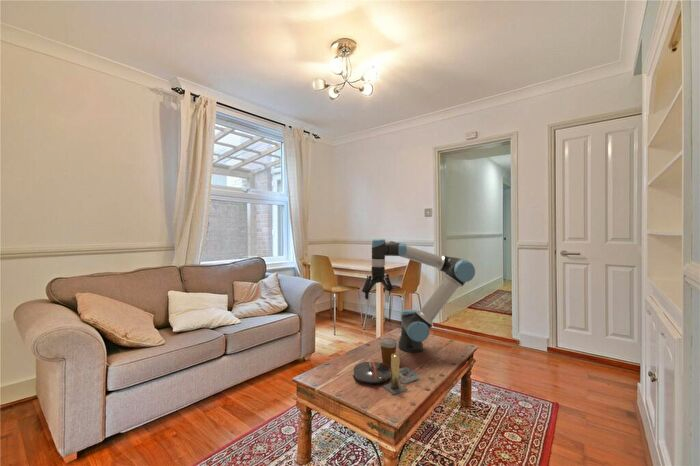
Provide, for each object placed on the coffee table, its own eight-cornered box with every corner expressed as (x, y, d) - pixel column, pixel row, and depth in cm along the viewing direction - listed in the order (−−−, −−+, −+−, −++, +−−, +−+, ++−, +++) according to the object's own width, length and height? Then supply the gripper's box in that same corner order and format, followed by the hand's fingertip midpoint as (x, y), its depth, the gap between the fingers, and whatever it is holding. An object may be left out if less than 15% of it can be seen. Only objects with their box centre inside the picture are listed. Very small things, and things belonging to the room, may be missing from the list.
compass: (351, 365, 156) (352, 352, 156) (385, 364, 158) (386, 351, 157) (355, 384, 138) (355, 369, 138) (393, 382, 140) (394, 367, 140)
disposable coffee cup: (396, 367, 158) (396, 345, 158) (378, 365, 160) (378, 343, 160) (397, 359, 167) (397, 338, 167) (380, 358, 169) (380, 337, 169)
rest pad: (395, 382, 143) (395, 381, 143) (407, 390, 136) (407, 389, 136) (382, 386, 139) (382, 385, 139) (393, 395, 132) (393, 394, 132)
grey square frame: (405, 371, 154) (406, 366, 154) (418, 379, 146) (418, 374, 146) (392, 375, 149) (392, 371, 149) (404, 384, 141) (404, 379, 141)
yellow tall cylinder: (395, 384, 140) (395, 352, 140) (400, 388, 137) (401, 355, 136) (389, 386, 138) (389, 354, 138) (394, 390, 135) (394, 357, 134)
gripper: (390, 264, 179) (390, 299, 180) (356, 266, 166) (355, 304, 167) (399, 265, 173) (398, 302, 173) (363, 268, 160) (363, 307, 160)
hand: (377, 303), depth 170 cm, fingers open, 13 cm apart
